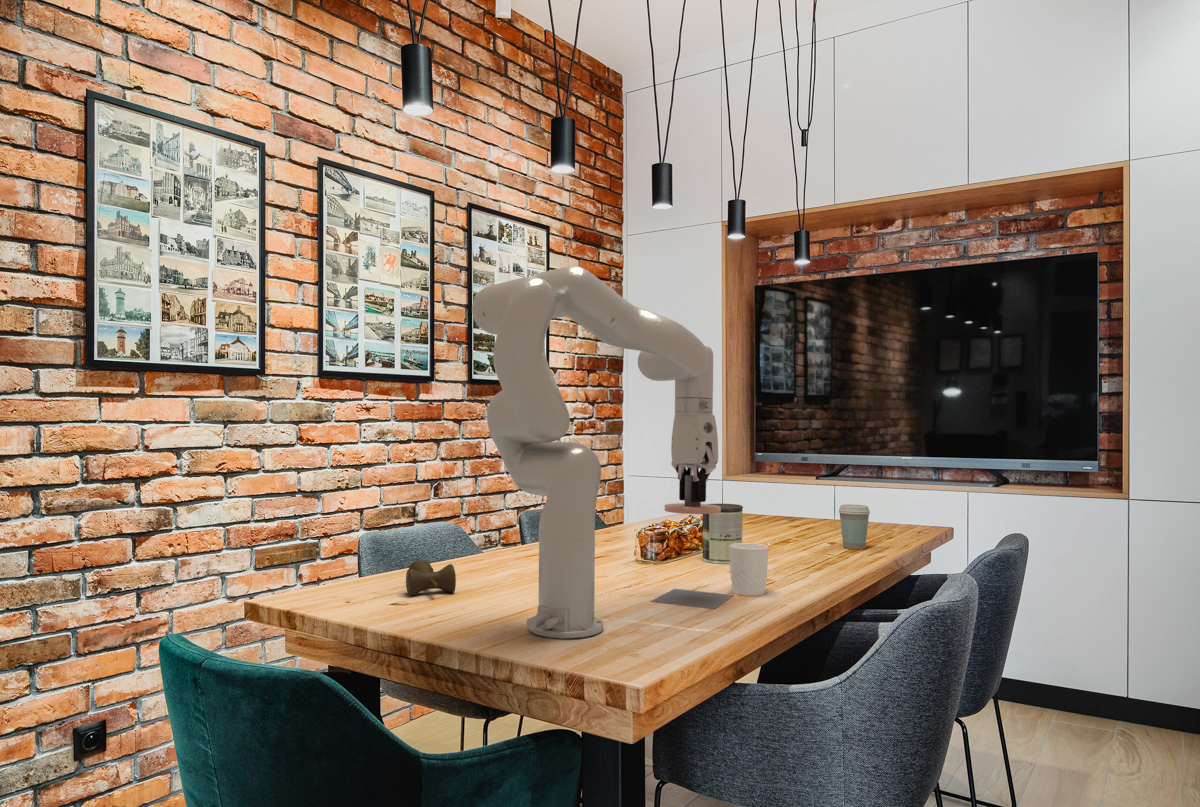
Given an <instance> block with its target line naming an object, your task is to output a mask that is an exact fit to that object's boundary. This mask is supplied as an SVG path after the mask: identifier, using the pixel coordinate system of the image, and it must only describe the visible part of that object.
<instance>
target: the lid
mask: <svg viewBox="0 0 1200 807" xmlns="http://www.w3.org/2000/svg"><path fill="white" fill-rule="evenodd" d="M691 481H694V480H693V474H692V475H685V500H684V501H683V503H679V502H677V503H676V502H675V503H666V504H664V511H665V512H668V513H675V514H687V515H703V514H715V513H720V512H721V507H720V506H717V505H710V504H711V503H702V502H692V501H691Z"/></svg>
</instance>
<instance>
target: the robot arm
mask: <svg viewBox="0 0 1200 807" xmlns="http://www.w3.org/2000/svg"><path fill="white" fill-rule="evenodd" d="M471 312H472V316H473V320H474V322H475V324H476V325H477V326H478V327H479V329H481V330H483V331H484V332H486V333H488V334H491V335H496V337H495V338H496V339H495V341H494V346H493V347H494V348H493V355H492V358H493V368H494V371H495V374H496V377H497V379H498V382H499V384H500V387H501V389H502V390H501V391H499V392H497V393H496V394H495V395H494V396H493V397H492V398H491V400H490V402H489V403H488V406H487V407H488V408H487V410H486V422H487V428H488V430H489V431H488V432H489V434H490V437H491V438H492V441H493V444H495V446H496V449H497V450H498V453H499V455H500V457H501V459H502V461H503V464H504V466H505V467H506V470H507V471H508V474H509V476H510V477H511V479H512V481H513V482H514V484H515V485H516V486H517V487H518V488H519V490H521V491H522V492H524V493H527V494H530V495H534V496H541V497H546V500H545V503H544V505H543V507H542V510H541V513H540V518H539V521H538V522H539V523H538V605H537V613H536V615H533V616H531V617H529V618H528V619H527V620H526V626H527V628H528V629H529V632H531V633H532V634H534V635H536V636H541V637H544V638H550V639H551V638H552V639H580V638H587V637H591V636H594V635H597V634H599V633H601V632H602V631H604V621H603V620H602V619H601V618H599V617H597V616H595V602H596V599H595V597H596V596H595V588H596V587H595V583H596V582H595V580H596V578H595V576H596V574H595V573H596V571H595V570H596V569H595V567H596V566H595V563H596V560H595V559H596V556H595V555H596V553H595V552H596V543H595V542H596V536H595V535H596V534H595V533H596V531H595V530H596V527H595V526H596V507H597V500H598V496H599V489H600V485H601V484H600V483H601V478H602V467H601V462H600V459H599V458H598V456H597V454H596V453H595V452H594V450H592V449H591V448H590V447H588V446H586V445H584V444H581V443H577V442H569V441H568V442H567V441H565V442H564V441H563V442H562V441H558V440H560V439H562V438H563V437H564V436H566V434H567V433H568V431H569V429H570V425H571V419H570V418H571V417H570V413H569V410H568V407H567V405H566V402H565V400H564V397H563V396H562V395H563V394H562V393H561V391H560V389H559V387H558V384H557V381H556V379H555V377H554V375H553V372H552V370H551V368H550V365H549V362H548V359H547V357H546V352H545V351H546V350H545V341H546V335H547V331H548V329H549V326H550V323H551V321H552V319H557V318H563V317H564V318H566V317H567V318H569V319H570V320H572V321H573V322H574V323H576V324H577V325H579V326H580V327H582V328H583V329H584V330H586V331H588V332H589V333H591V334H592V335H593V336H595V337H596V338H597V339H598V340H599V341H601V342H603V343H605V344H606V345H609V346H612V347H616V348H620V349H623V350H624V349H626V350H632V351H634V350H635V351H640V352H639V354H638V356H637V367H638V369H639V372H640V373H641V374H642V375H643V377H645V378H647V379H649V380H650V381H654V382H655V381H656V382H663V381H666V382H667V381H674V416H673V417H674V418H673V424H672V432H671V449H670V450H671V466H672V468H673V469H674V470H675V471H676V473H677V479H678V480H679V484H678V485H679V488H678V489H679V492H678V493H679V494H678V499H679V501H685V475H693V480H694V481H691V501H692V502H701V503H705V502H707V501H706V500H707V482H708V481H709V476H710V475H711V473H712V472H713V471H714V470H716V468H717V464H718V462H719V441H718V440H719V439H718V438H719V437H718V428H717V420H716V416H715V415H714V414H713V408H714V407H713V406H714V398H713V396H714V352H713V351H714V350H712V348H711V347H709V346H707V345H704V343H703V342H702V341H701V339H700V338H698V337H697V336H696V335H695V334H694V333H692V331H690V330H689V329H688V328H687V327H685V326H684V325H682V324H680V323H679V322H677V321H676V320H675V321H674V320H673V319H671V318H669V317H666V316H663V315H660V314H658V313H654V312H652V311H650V310H648V309H645V308H641V307H638V306H635V305H633V304H632V303H631V302H629V301H628V300H626V299H625V298H624V297H623V296H622V295H620V294H619V293H617V292H616V291H615V290H614V289H613V288H611V287H610V286H609V285H607V284H606V283H605V282H604V281H602V280H601V279H600V278H598V277H597V276H596V275H595V274H593V273H592V272H591V271H589V270H588V269H586V268H584V267H582V266H576V265H570V266H569V265H568V266H563V267H558V268H554V269H551V270H547V271H546V270H545V271H542V272H539V273H536V274H532V275H530V276H526V277H519V278H516V279H510V280H508V281H503V282H500V283H494V284H491V285H488V286H485V287H483V288H482V289H481V290H479V291H478V292H477V294H476V295H475V296H474V299H473V302H472V306H471ZM699 469H700V470H699Z"/></svg>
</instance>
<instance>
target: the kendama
mask: <svg viewBox="0 0 1200 807" xmlns="http://www.w3.org/2000/svg"><path fill="white" fill-rule="evenodd" d="M405 575H406V576H405V585H406V587H405V588H406V592H407V595H408V596H409V597H414V596H416V595H418V594H420V593H421V592H423V591H426V590H432V589H433V590H434V589H435V590H436V589H437V590H441V591H444V592H446V593H450V594H454V593H455V591H456V586H457V583H456V582H457V577H456V570H455V566H454V565H453V564H452V563H450V564H447V565H445V566H444V567H442V568H441V569H439V570H437V571H434V568H433V566H432V565H431V563H430V562H429V561H428V560H425V559H417V560H414V561H413V562H411V563H410V565H409V567H408V569H407V570H406V574H405Z"/></svg>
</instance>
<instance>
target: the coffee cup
mask: <svg viewBox="0 0 1200 807" xmlns="http://www.w3.org/2000/svg"><path fill="white" fill-rule="evenodd" d="M870 511H871V510H870V509H869V506H868V505H863V504H840V506H839V509H838V513H839V520H840V528H841V536H842V546H843V548H844V549H845V548H846V550H851V549H855V550H856V551H858V550H857V549H863V550H865V549H866V544H867V536H868V535H867V534H868V527H869V526H868V525H869V517H870V514H871V512H870Z"/></svg>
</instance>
